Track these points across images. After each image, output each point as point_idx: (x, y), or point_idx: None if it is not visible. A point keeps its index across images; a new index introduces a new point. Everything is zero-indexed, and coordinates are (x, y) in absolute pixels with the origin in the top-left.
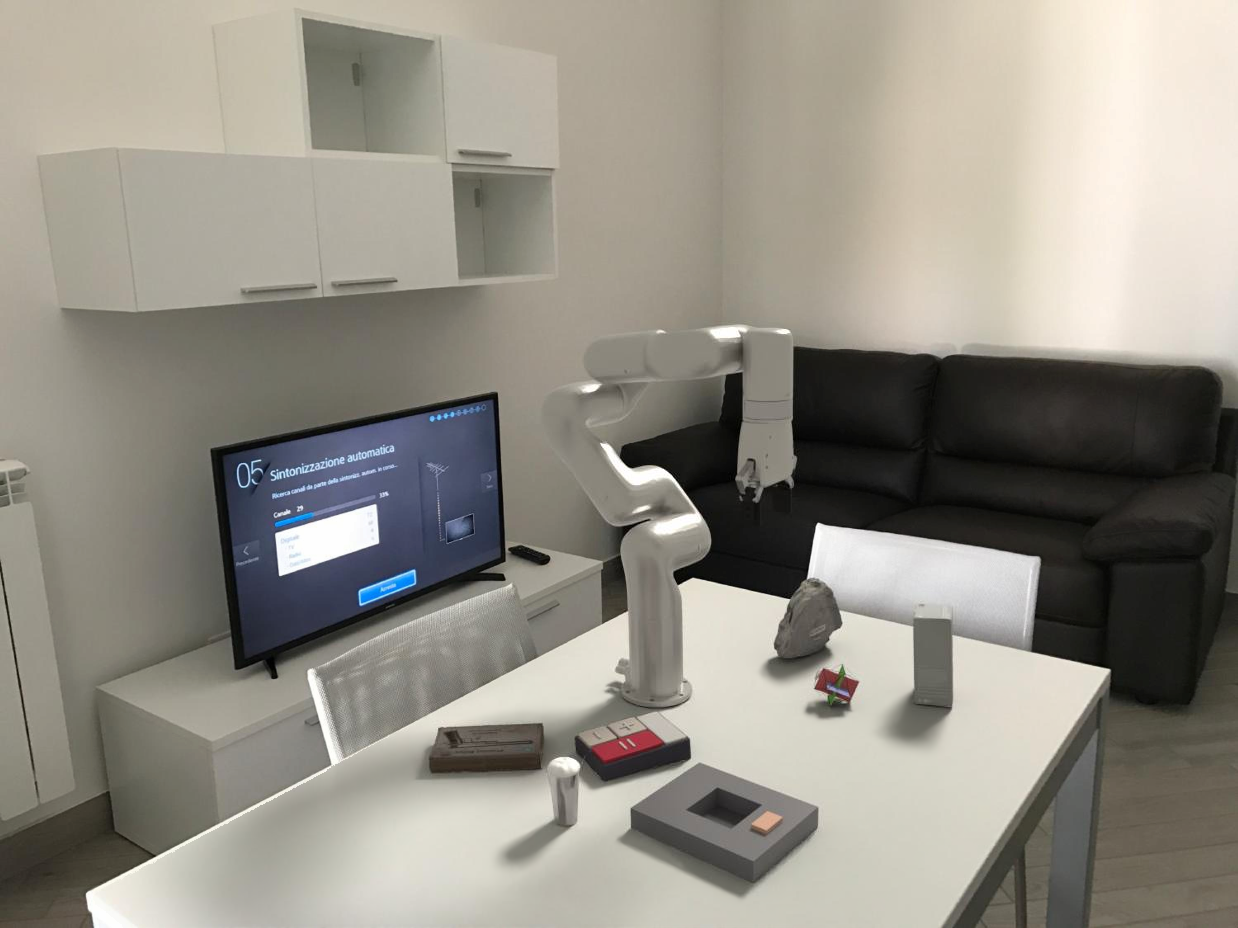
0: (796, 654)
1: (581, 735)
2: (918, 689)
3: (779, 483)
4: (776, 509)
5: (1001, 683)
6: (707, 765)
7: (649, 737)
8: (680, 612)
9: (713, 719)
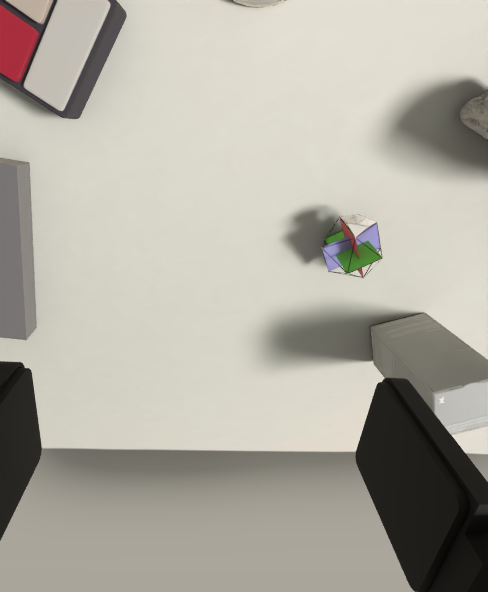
0: (477, 132)
1: None
2: (378, 339)
3: (483, 583)
4: (377, 404)
5: None
6: (17, 181)
7: (15, 48)
8: None
9: (209, 91)
